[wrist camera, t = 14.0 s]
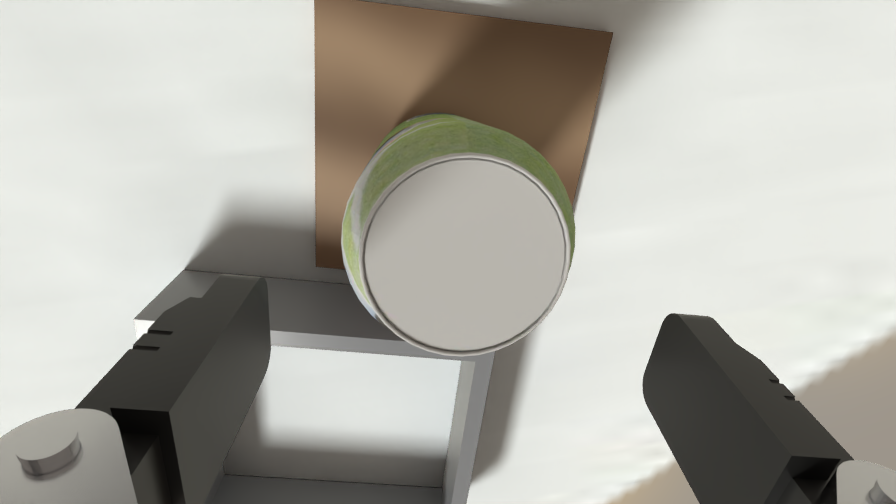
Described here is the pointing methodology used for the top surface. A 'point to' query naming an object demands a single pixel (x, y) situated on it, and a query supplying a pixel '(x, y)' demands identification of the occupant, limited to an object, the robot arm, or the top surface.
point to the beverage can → (457, 235)
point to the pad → (442, 89)
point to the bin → (353, 330)
